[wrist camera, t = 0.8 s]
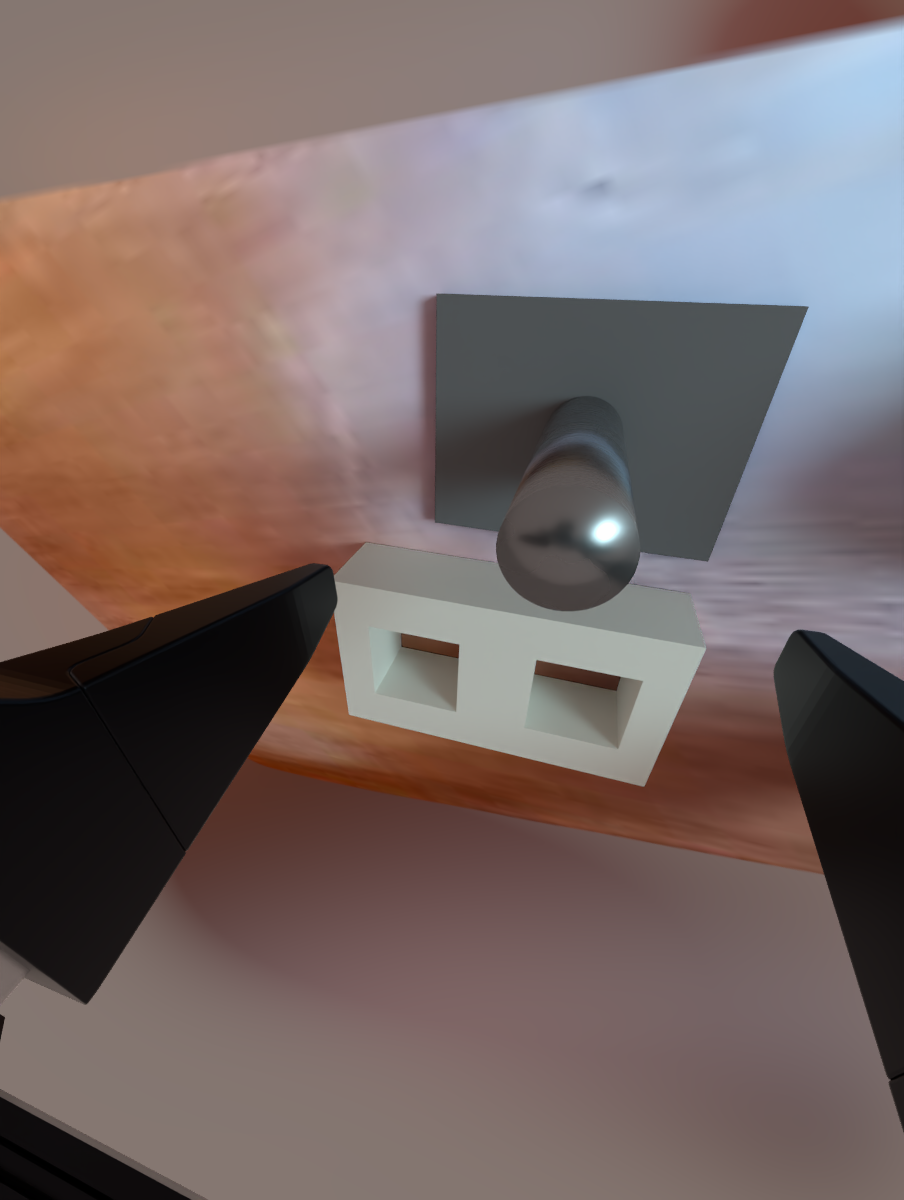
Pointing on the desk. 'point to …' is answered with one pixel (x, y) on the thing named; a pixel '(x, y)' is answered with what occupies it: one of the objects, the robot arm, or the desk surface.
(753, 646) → the desk surface
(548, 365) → the mat
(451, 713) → the hole block
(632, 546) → the peg
